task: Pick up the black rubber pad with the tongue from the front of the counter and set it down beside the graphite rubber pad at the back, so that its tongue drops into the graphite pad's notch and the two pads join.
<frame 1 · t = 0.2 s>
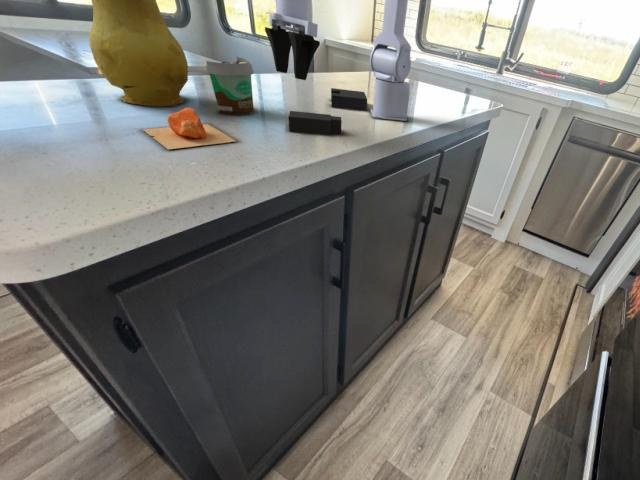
hand: (290, 75, 68), 10 cm above the worktop, tool pointing down, fingers open, 7 cm apart
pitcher: (156, 99, 79), on the worktop
black pad: (310, 130, 76), on the worktop
rock: (190, 137, 63), on the worktop
food container: (243, 112, 80), on the worktop
graphite pad: (348, 105, 99), on the worktop
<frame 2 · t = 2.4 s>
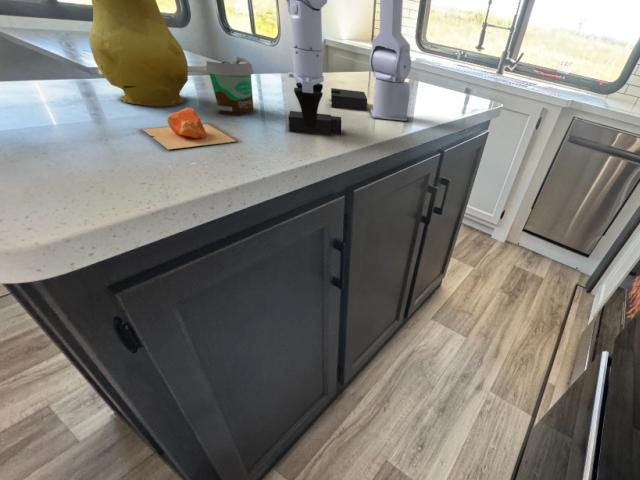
hand: (310, 123, 75), 1 cm above the worktop, tool pointing down, fingers closed on black pad, 5 cm apart
black pad: (310, 130, 76), on the worktop, touching gripper
everything else where it was.
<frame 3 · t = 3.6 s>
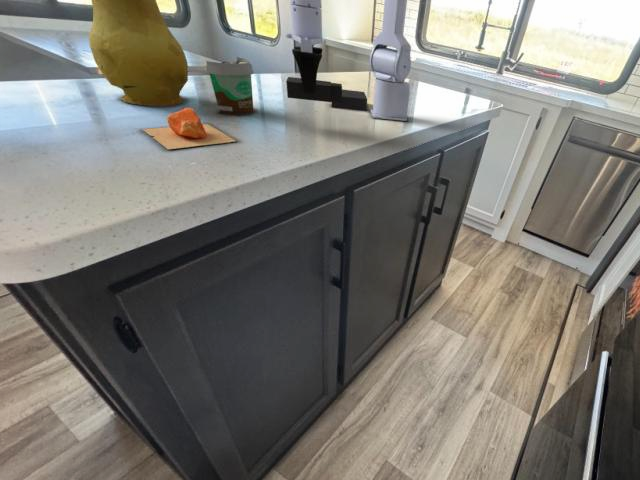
hand: (309, 89, 72), 8 cm above the worktop, tool pointing down, fingers closed on black pad, 5 cm apart
black pad: (310, 97, 73), point 6 cm above the worktop, touching gripper
everything else where it was.
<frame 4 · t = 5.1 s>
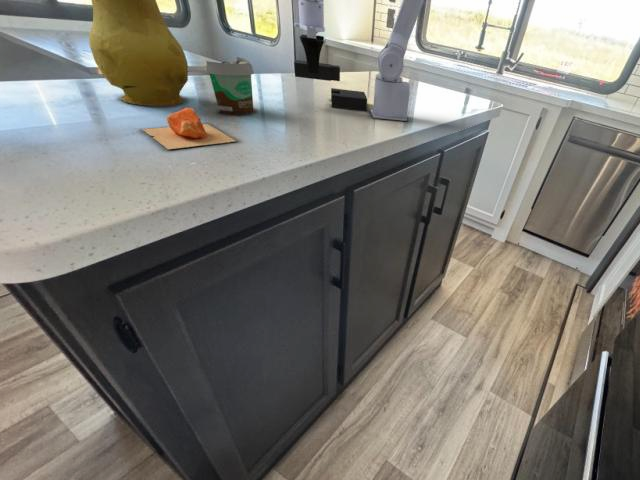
hand: (313, 70, 87), 8 cm above the worktop, tool pointing down, fingers closed on black pad, 5 cm apart
black pad: (313, 77, 88), point 7 cm above the worktop, touching gripper
everything else where it was.
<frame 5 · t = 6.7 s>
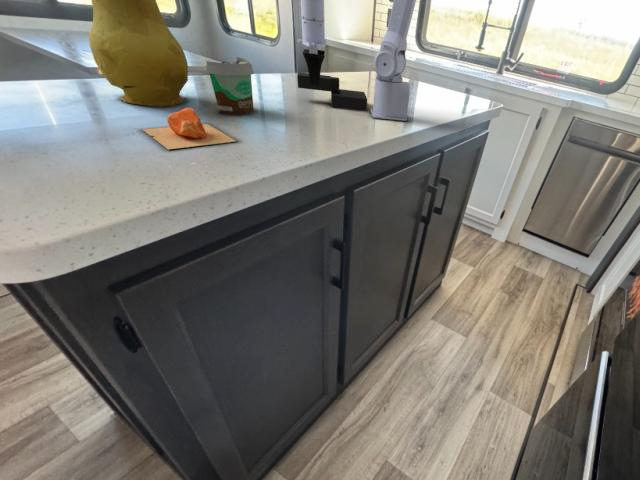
hand: (315, 82, 94), 5 cm above the worktop, tool pointing down, fingers closed on black pad, 5 cm apart
black pad: (314, 88, 95), point 3 cm above the worktop, touching gripper
everything else where it was.
when the fingers open (1 cm above the worktop, at t = 8.2 s): black pad stays where it is, on the worktop.
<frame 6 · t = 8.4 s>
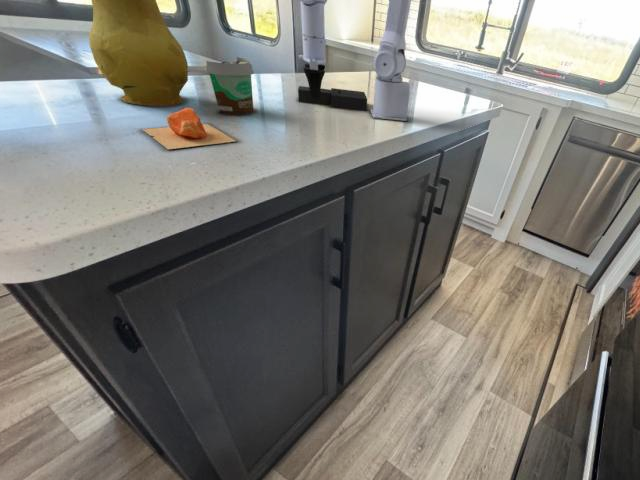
hand: (315, 96, 96), 1 cm above the worktop, tool pointing down, fingers open, 6 cm apart
black pad: (315, 101, 97), on the worktop
everything else where it was.
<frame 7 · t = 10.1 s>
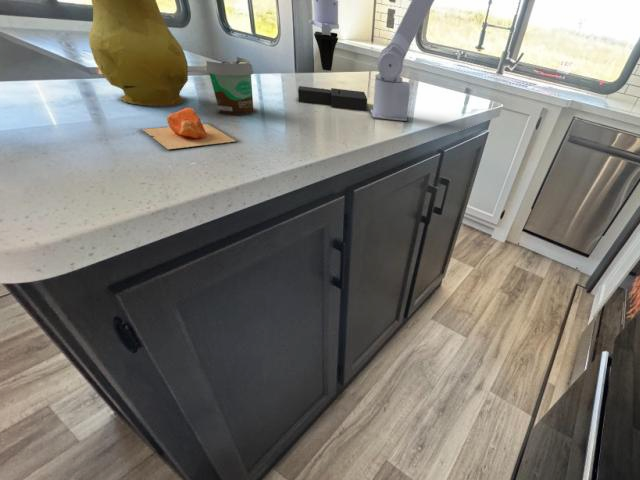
hand: (326, 67, 87), 9 cm above the worktop, tool pointing down, fingers open, 7 cm apart
nothing on the worktop moved.
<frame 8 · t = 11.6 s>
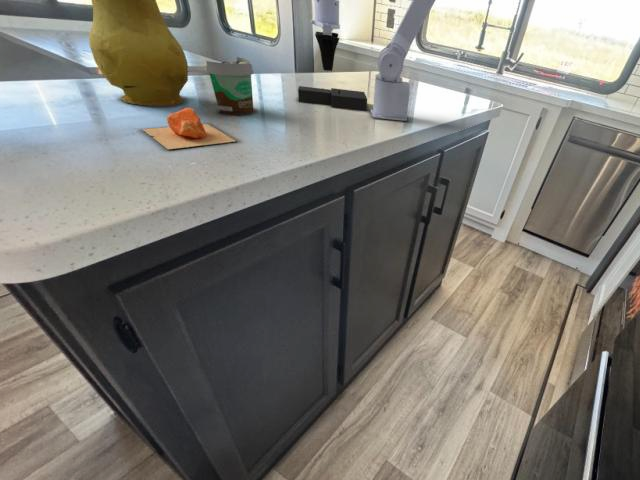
hand: (327, 68, 87), 9 cm above the worktop, tool pointing down, fingers open, 7 cm apart
nothing on the worktop moved.
at the end: black pad 0.1 cm from the target spot on the worktop beside the graphite pad, on the worktop; black pad tilted 0°; the gripper is holding nothing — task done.
